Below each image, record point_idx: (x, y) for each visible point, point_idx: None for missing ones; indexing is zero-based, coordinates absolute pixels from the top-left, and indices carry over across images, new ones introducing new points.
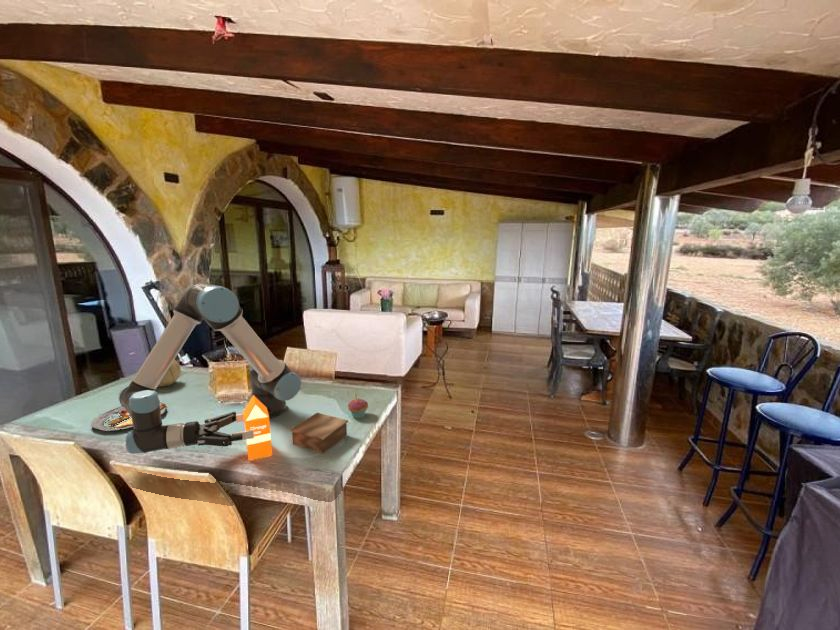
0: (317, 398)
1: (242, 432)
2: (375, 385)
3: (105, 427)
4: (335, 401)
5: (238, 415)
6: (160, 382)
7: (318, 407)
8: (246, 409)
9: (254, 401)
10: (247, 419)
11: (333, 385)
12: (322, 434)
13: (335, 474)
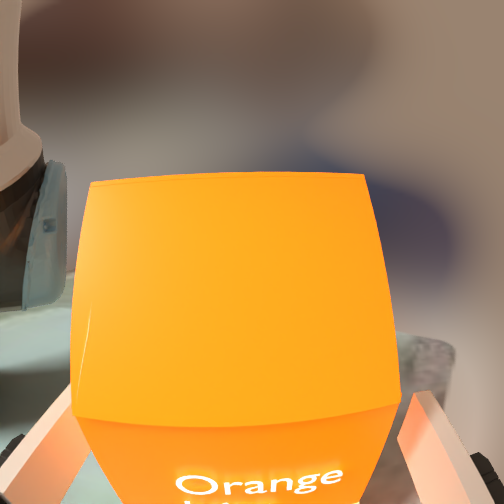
0: (17, 323)
1: (463, 445)
2: (75, 271)
3: None
4: (65, 309)
5: (16, 480)
6: None
7: (56, 332)
8: (147, 349)
9: (262, 182)
10: (378, 368)
11: None
12: None
13: (424, 338)
